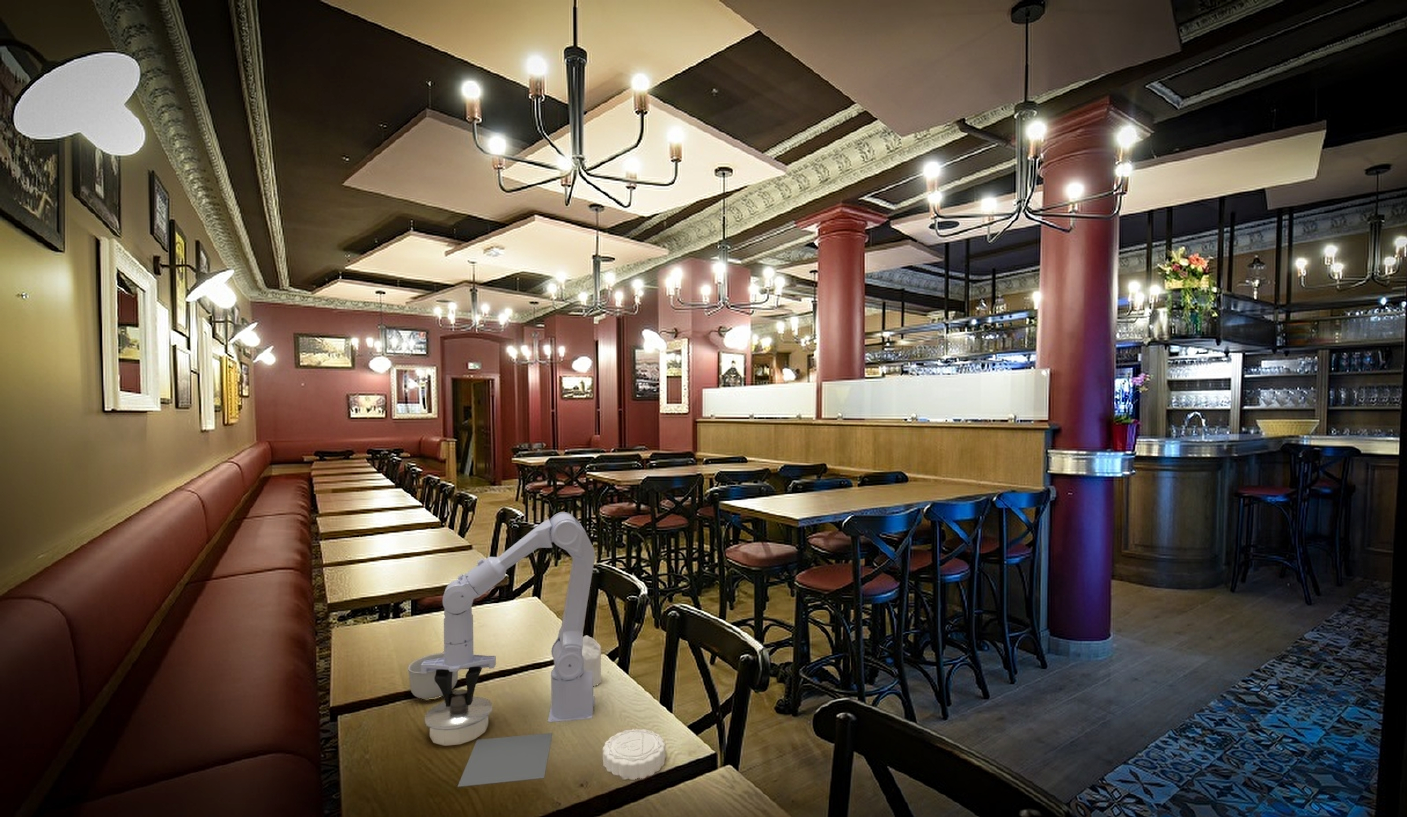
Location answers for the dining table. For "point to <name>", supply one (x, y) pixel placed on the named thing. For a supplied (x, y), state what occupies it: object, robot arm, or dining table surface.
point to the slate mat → (507, 760)
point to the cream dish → (458, 734)
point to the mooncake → (634, 754)
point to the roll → (592, 658)
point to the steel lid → (458, 712)
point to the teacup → (426, 678)
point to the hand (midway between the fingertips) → (459, 703)
